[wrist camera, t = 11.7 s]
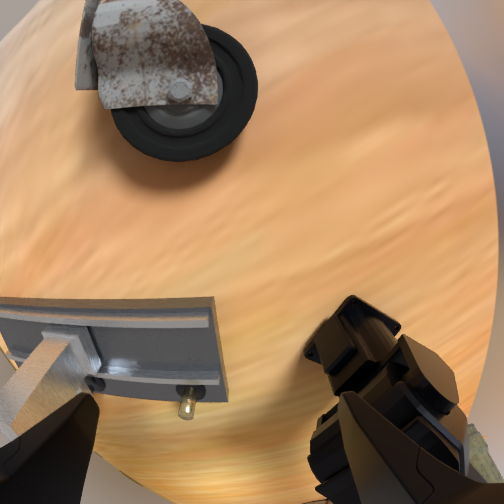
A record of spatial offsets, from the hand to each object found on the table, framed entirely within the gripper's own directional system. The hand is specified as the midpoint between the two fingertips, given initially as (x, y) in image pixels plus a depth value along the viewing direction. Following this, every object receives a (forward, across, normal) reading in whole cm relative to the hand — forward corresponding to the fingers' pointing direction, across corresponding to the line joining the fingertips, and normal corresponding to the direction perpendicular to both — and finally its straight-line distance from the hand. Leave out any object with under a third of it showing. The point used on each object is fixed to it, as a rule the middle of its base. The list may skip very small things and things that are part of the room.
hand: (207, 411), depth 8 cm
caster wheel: (+12, +2, -14) cm, 19 cm away
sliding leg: (+10, +14, +7) cm, 19 cm away
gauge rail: (+12, +14, +7) cm, 20 cm away
